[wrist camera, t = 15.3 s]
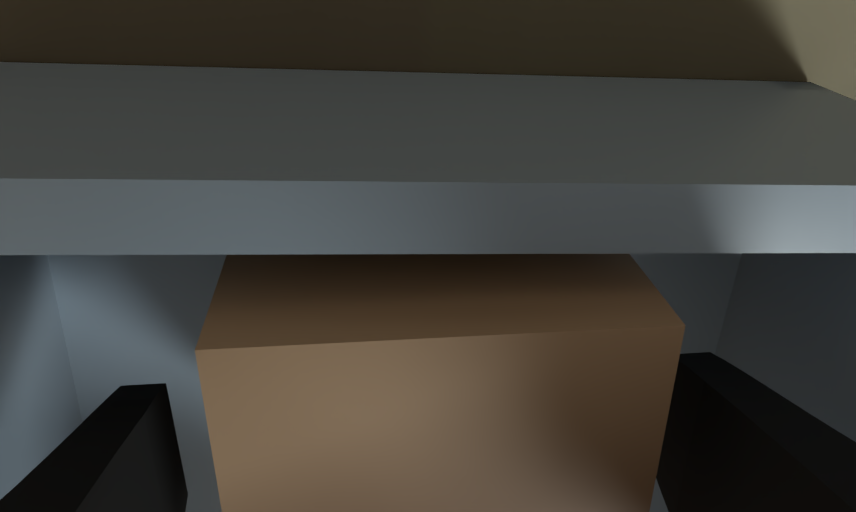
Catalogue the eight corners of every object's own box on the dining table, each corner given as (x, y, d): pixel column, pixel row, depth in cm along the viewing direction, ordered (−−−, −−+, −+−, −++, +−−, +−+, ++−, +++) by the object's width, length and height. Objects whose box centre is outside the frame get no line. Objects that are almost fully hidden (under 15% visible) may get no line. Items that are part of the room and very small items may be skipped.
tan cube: (253, 173, 12) (194, 349, 7) (560, 165, 12) (685, 325, 8) (280, 422, 14) (248, 673, 9) (538, 406, 14) (625, 639, 10)
